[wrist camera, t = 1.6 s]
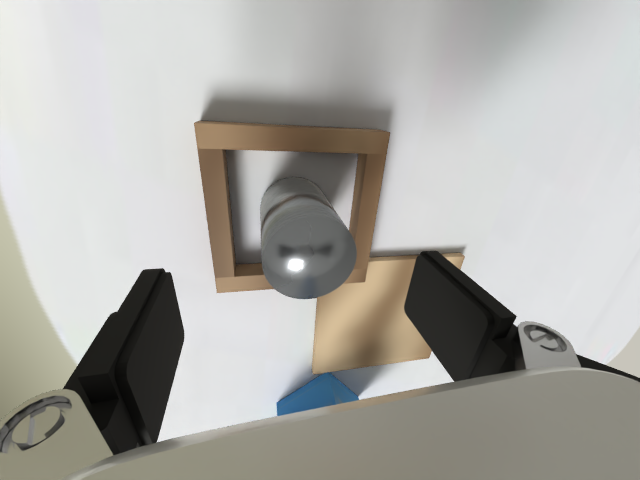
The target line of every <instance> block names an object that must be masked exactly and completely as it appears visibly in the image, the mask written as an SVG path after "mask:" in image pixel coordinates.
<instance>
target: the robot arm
mask: <svg viewBox="0 0 640 480" xmlns="http://www.w3.org/2000/svg"><path fill="white" fill-rule="evenodd" d="M404 311H405V314H406V315H407V317H408V318H409V319H410V321H411V322H412V324H413V325H414V326H415V328H416V329H417V330H418V332H419V333H420V335H421V336H422V337H423V339H424V340H425V342H426V343H427V344H428V346H429V347H430V348H431V350H432V351H433V353H434V354H435V355H436V357H437V358H438V360H439V361H440V362H441V364H442V365H443V367H444V368H445V369H446V371H447V372H448V373H449V375H450V376H451V378H452V379H453V380H454V381H455V382H451V383H445V384H440V385H435V386H429V387H424V388H419V389H414V390H409V391H403V392H398V393H393V394H388V395H383V396H378V397H372V398H367V399H362V400H357V401H352V402H347V403H342V404H337V405H331V406H326V407H321V408H316V409H311V410H306V411H301V412H296V413H291V414H286V415H281V416H276V417H271V418H266V419H261V420H256V421H251V422H246V423H241V424H237V425H232V426H227V427H223V428H218V429H214V430H209V431H204V432H200V433H195V434H191V435H186V436H181V437H177V438H172V439H168V440H165V441H161V442H157V439H158V436H159V432H160V429H161V425H162V421H163V417H164V414H165V410H166V406H167V402H168V399H169V395H170V391H171V387H172V384H173V380H174V376H175V372H176V368H177V365H178V361H179V357H180V353H181V350H182V346H183V342H184V329H183V324H182V320H181V315H180V311H179V306H178V302H177V297H176V292H175V288H174V283H173V279H172V275H171V273H170V272H165V270H164V269H163V268H162V269H146V270H143V271H142V272H141V274H140V276H139V277H138V279H137V280H136V282H135V284H134V285H133V287H132V289H131V290H130V292H129V294H128V295H127V297H126V298H125V300H124V302H123V303H122V305H121V307H120V308H119V310H118V312H114V313H112V314H111V315H110V316H109V317H108V319H107V320H106V322H105V323H104V325H103V327H102V328H101V330H100V331H99V333H98V334H97V336H96V338H95V339H94V341H93V342H92V344H91V345H90V347H89V349H88V350H87V352H86V353H85V355H84V356H83V358H82V360H81V361H80V363H79V364H78V366H77V367H76V369H75V371H74V372H73V374H72V375H71V377H70V378H69V380H68V382H67V383H66V385H65V386H64V388H63V389H60V390H53V391H49V392H46V393H42V394H40V395H38V396H35V397H33V398H31V399H29V400H27V401H25V402H24V403H22V404H21V405H19V406H18V407H16V408H14V409H13V410H12V411H10V412H9V413H8V414H7V415H6V416H5V417H3V418H2V419H1V420H0V480H640V378H638V377H636V376H633V375H630V374H628V373H625V372H623V371H620V370H617V369H614V368H612V367H609V366H607V365H604V364H601V363H599V362H596V361H593V360H591V359H588V358H585V357H583V356H580V355H577V354H576V353H575V351H574V349H573V346H572V345H571V343H570V342H569V341H568V340H567V339H566V338H565V337H564V336H563V335H561V334H560V333H559V332H557V331H556V330H554V329H552V328H550V327H548V326H545V325H543V324H540V323H536V322H530V321H525V322H521V323H520V324H519V325H518V327H516V326H515V325H514V324H513V323H514V321H515V319H516V317H517V316H516V315H515V314H513V313H512V312H511V311H510V310H508V309H507V308H506V307H505V306H504V305H502V304H501V303H500V302H499V301H497V300H496V299H495V298H494V297H493V296H491V295H490V294H489V293H488V292H487V291H485V290H484V289H483V288H482V287H480V286H479V285H478V284H477V283H476V282H474V281H473V280H472V279H471V278H469V277H468V276H467V275H466V274H465V273H463V272H462V271H461V270H460V269H458V268H457V267H456V266H455V265H454V264H452V263H451V262H450V261H449V260H448V259H446V258H445V257H444V256H443V255H441V254H440V253H439V252H438V251H423V252H421V253H420V255H418V256H417V258H416V261H415V265H414V269H413V273H412V277H411V281H410V285H409V288H408V292H407V296H406V300H405V304H404ZM156 442H157V443H156Z"/></svg>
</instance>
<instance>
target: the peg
mask: <svg viewBox="0 0 640 480" xmlns="http://www.w3.org/2000/svg"><path fill="white" fill-rule="evenodd" d="M260 220H261V253H262V269H263V273H264V275H265V277H266V279H267V281H268V282H269V284H270V285H271V286H272V287H273V288H274V289H275V290H277V291H278V292H280V293H281V294H283V295H286V296H288V297H292V298H297V299H312V298H317V297H321V296H324V295H326V294H328V293H331V292H332V291H334V290H336V289H337V288H338V287H340V286H341V285H342V284H343V283H344V282H345V281H346V280H347V279H348V277H349V276H350V274H351V273H352V271H353V269H354V266H355V263H356V258H357V249H356V244H355V241H354V238H353V237H352V235H351V233H350V232H349V230H348V229H347V227H346V226H345V225H344V223H343V222H342V220H341V219H340V217H339V216H338V214H337V213H336V211H335V210H334V209H333V207H332V206H331V204H330V203H329V201H328V200H327V198H326V197H325V195H324V194H323V193H322V191H321V190H320V188H319V187H318V186H317V185H316V184H314V183H313V182H311V181H309V180H307V179H304V178H300V177H289V178H284V179H281V180H279V181H277V182H276V183H274V184H273V185H271V186H270V187H269V188H268V190H267V191H266V192H265V194H264V196H263V198H262V201H261V205H260Z"/></svg>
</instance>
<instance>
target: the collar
mask: <svg viewBox="0 0 640 480" xmlns="http://www.w3.org/2000/svg"><path fill="white" fill-rule="evenodd" d="M194 126H195V134H196V141H197V149H198V156H199V163H200V171H201V178H202V186H203V193H204V200H205V208H206V215H207V222H208V230H209V237H210V245H211V252H212V259H213V267H214V274H215V282H216V289H217V293H224V292H238V291H251V290H265V289H274V288H273V287H272V286H271V285H270V284H269V282H268V281H267V279H266V277H265V275H264V273H263V269H262V263H256V264H237V265H236V259H235V248H234V237H233V226H232V215H231V204H230V193H229V182H228V171H227V160H226V149H232V150H264V151H297V152H329V153H358V161H357V169H356V177H355V186H354V194H353V202H352V210H351V218H350V227H349V232H350V233H351V235H352V237H353V238H354V241H355V244H356V249H357V258H356V263H355V266H354V269H353V271H352V273H351V274H350V276H349V277H348V279H347V280H346V281H345V282H344V283H343V284H348V283H361V282H365V280H366V274H367V268H368V262H369V256H370V250H371V244H372V238H373V232H374V226H375V220H376V214H377V208H378V202H379V196H380V190H381V184H382V178H383V172H384V166H385V160H386V154H387V148H388V142H389V136H390V132H386V131H383V130H375V129H355V128H335V127H316V126H296V125H276V124H256V123H236V122H217V121H198V122H195V123H194Z"/></svg>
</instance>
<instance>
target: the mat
mask: <svg viewBox="0 0 640 480" xmlns="http://www.w3.org/2000/svg"><path fill="white" fill-rule="evenodd" d="M441 255H443V256H444V257H445V258H446V259H448V260H449V261H450V262H451V263H452V264H454V265H455V266H456V267H457V268H458V269H461V266H462V263H463V260H464V257H465V256H464V255H462V254H461V253H445V254H441ZM417 256H418V255H407V256H388V257H369V262H368V268H367V274H366V280H365V282H361V283H348V284H342V285H341V286H340V287H338V288H337V289H336V290H334V291H332V292H331V293H328V294H326V295H324V296H321V297H317V306H316V320H315V334H314V347H313V361H312V372H313V374H320V373H327V372H334V371H341V370H348V369H355V368H362V367H369V366H377V365H384V364H391V363H398V362H405V361H412V360H419V359H426V358H429V357H430V354H431V351H432V350H431V348H430V347H429V346H428V344H427V343H426V342H425V340H424V339H423V337H422V336H421V335H420V333H419V332H418V330H417V329H416V328H415V326H414V325H413V324H412V322H411V321H410V319H409V318H408V317H407V315H406V314H405V311H404V304H405V300H406V296H407V292H408V288H409V285H410V281H411V277H412V273H413V269H414V265H415V261H416V258H417Z"/></svg>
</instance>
